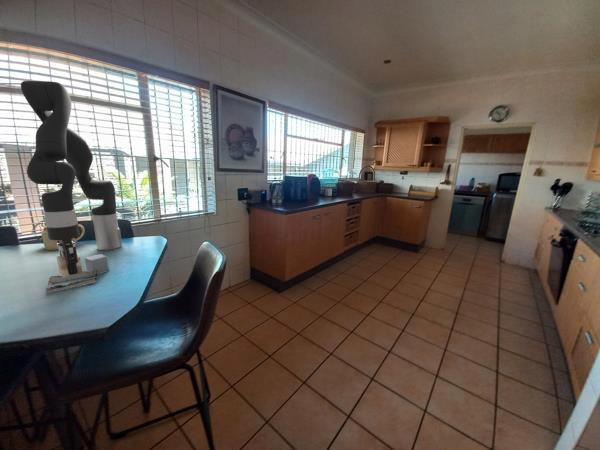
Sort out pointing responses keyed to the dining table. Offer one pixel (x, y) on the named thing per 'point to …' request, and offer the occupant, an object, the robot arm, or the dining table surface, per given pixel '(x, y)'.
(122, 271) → the dining table surface
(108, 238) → the robot arm
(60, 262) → the beech block
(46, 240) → the yellow teapot
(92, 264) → the slate block
